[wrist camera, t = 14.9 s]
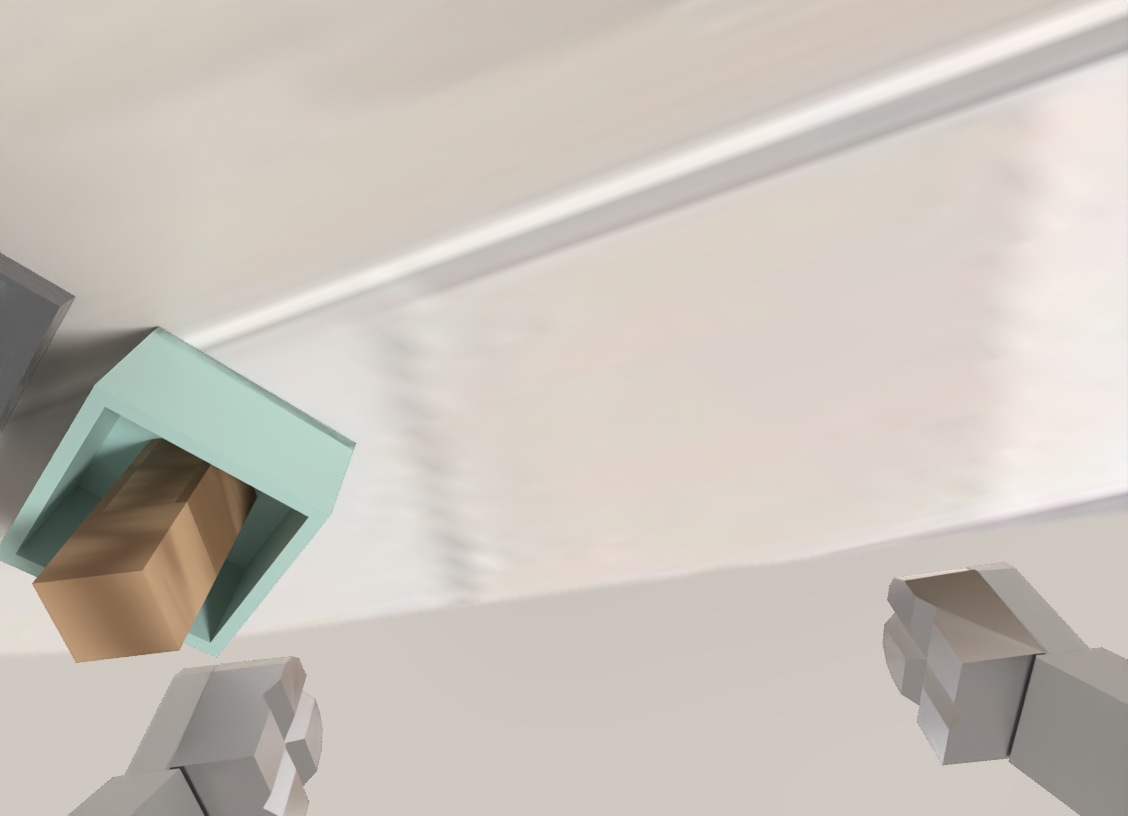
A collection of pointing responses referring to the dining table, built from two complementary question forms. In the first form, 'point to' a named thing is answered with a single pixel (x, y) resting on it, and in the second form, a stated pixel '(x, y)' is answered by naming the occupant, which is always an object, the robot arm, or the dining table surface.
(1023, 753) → the robot arm
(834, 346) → the dining table surface
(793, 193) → the dining table surface
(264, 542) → the sage bin
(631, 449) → the dining table surface
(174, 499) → the walnut strut
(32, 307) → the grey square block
